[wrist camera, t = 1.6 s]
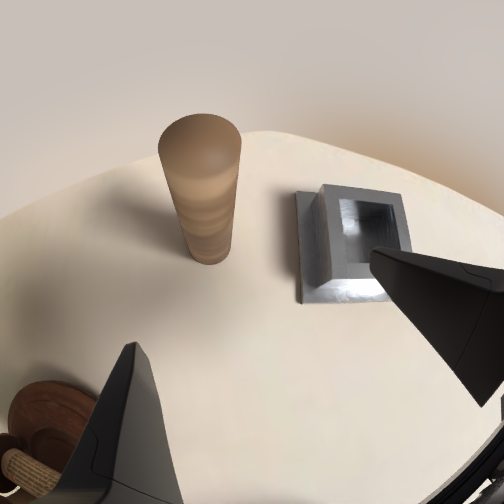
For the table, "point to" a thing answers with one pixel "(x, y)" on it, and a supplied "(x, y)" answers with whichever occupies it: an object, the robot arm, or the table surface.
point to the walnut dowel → (203, 181)
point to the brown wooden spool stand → (41, 437)
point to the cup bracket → (346, 241)
